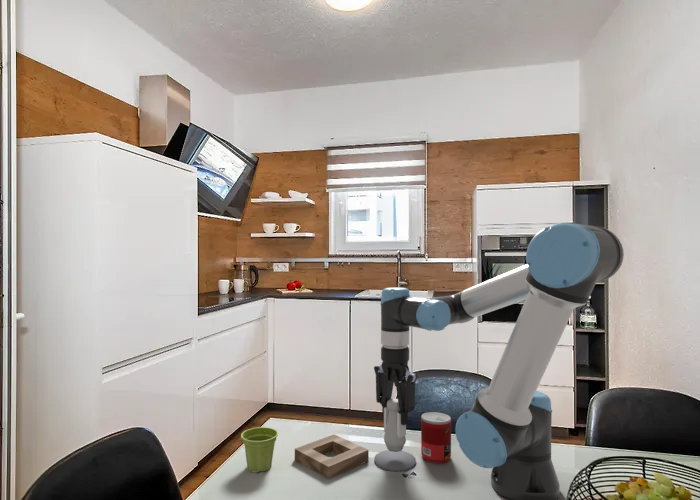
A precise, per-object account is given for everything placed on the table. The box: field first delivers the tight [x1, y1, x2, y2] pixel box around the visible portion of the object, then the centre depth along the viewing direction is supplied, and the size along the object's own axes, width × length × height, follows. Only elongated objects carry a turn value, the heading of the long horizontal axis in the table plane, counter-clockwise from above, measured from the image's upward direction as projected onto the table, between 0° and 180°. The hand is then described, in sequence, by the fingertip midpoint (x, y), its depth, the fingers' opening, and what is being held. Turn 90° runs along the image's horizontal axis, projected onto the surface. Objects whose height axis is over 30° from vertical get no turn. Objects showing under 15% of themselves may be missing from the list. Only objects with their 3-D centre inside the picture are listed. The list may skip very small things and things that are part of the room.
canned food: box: [420, 411, 452, 464], centre depth 124 cm, size 8×8×11 cm
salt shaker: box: [383, 398, 407, 452], centre depth 122 cm, size 6×6×13 cm
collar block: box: [294, 434, 370, 480], centre depth 122 cm, size 14×14×3 cm
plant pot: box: [240, 426, 279, 473], centre depth 118 cm, size 9×9×9 cm
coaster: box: [373, 449, 417, 472], centre depth 122 cm, size 11×11×1 cm
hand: (394, 433), depth 122 cm, fingers closed on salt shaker, 4 cm apart
